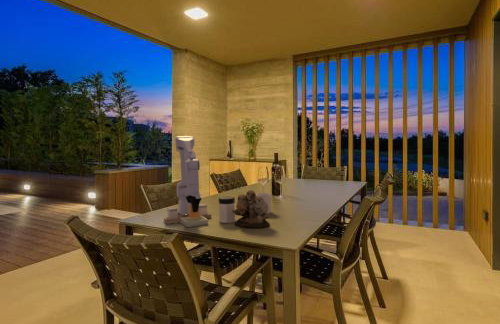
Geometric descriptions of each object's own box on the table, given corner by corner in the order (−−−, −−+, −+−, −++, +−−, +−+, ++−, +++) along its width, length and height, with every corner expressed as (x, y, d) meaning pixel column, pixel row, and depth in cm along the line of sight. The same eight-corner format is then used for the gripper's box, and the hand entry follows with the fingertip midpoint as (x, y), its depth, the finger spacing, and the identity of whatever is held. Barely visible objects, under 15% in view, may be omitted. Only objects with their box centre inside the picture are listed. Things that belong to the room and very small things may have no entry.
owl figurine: (229, 228, 144) (228, 191, 143) (236, 222, 155) (235, 188, 154) (267, 229, 140) (266, 192, 139) (271, 223, 151) (271, 188, 150)
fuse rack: (163, 221, 158) (163, 217, 158) (206, 215, 170) (206, 211, 170) (167, 224, 152) (167, 220, 152) (211, 218, 164) (211, 214, 163)
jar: (215, 221, 155) (214, 198, 155) (224, 218, 162) (223, 195, 162) (230, 223, 151) (229, 199, 150) (238, 220, 158) (238, 196, 157)
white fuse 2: (197, 217, 166) (197, 204, 165) (204, 216, 168) (204, 203, 167) (200, 219, 162) (199, 205, 162) (207, 218, 164) (207, 204, 164)
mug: (272, 211, 177) (271, 193, 177) (270, 214, 169) (269, 195, 169) (251, 210, 180) (250, 192, 179) (248, 213, 172) (248, 195, 171)
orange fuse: (188, 216, 153) (188, 202, 153) (196, 215, 155) (195, 201, 155) (191, 218, 150) (190, 204, 149) (199, 217, 152) (198, 203, 151)
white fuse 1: (167, 221, 158) (167, 208, 157) (175, 220, 160) (175, 207, 159) (170, 223, 154) (169, 209, 154) (177, 222, 156) (177, 208, 156)
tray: (180, 222, 155) (180, 217, 155) (200, 219, 160) (200, 215, 160) (187, 227, 146) (186, 222, 145) (208, 224, 151) (208, 219, 151)
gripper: (180, 183, 156) (181, 209, 157) (189, 186, 143) (190, 214, 144) (193, 181, 159) (194, 207, 160) (204, 184, 147) (204, 213, 148)
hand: (193, 211), depth 152 cm, fingers closed on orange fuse, 4 cm apart
